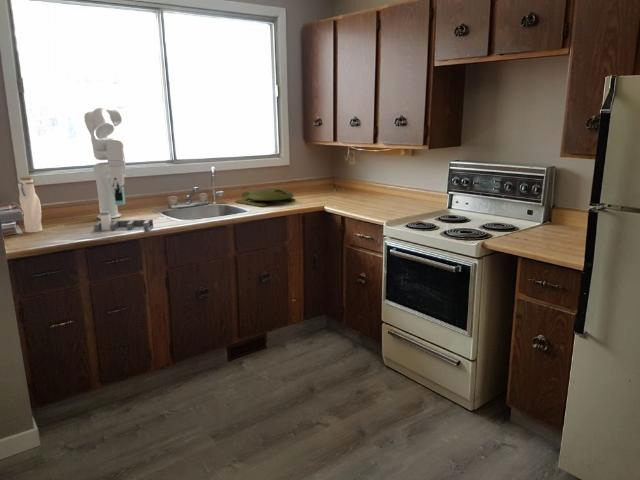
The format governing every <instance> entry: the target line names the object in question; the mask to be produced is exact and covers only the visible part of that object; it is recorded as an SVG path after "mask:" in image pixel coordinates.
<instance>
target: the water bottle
mask: <svg viewBox="0 0 640 480" xmlns="http://www.w3.org/2000/svg"><path fill="white" fill-rule="evenodd" d="M19 181H20V182H19V183H17V188H18V191H19V204H20V208H21V210H22V212H23V224H24V229H25V230H24V231H25V233H37V232H38V233H39V232H42V231H43V226H42V207H41V206H42V205H41V201H40V198H39V196H38V195H37V193H36V189H35V185H34V184H35V183H36V182H35V181H34V180H33V177H32V176H21V177H20V180H19Z"/></svg>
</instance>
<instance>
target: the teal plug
mask: <svg viewBox="0 0 640 480" xmlns="http://www.w3.org/2000/svg"><path fill="white" fill-rule="evenodd" d="M117 187H119V186H117ZM124 187H125V186H124V185H123V186H121V193H122V201H116V200H115V205H117V206H124V205H125V204H126V196H125V188H124ZM114 196H115V190H114Z"/></svg>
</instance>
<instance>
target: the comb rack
mask: <svg viewBox="0 0 640 480" xmlns="http://www.w3.org/2000/svg"><path fill="white" fill-rule="evenodd" d="M111 223H112V224H111V229H110V230H102V226H101V220H97V221H96V223H95V224H94V225H93V229H94V230H92V231H91V233H101V232H102V233H103V232H104V233H106V232H124V231H129V232H130V231H143V232H144V233H146V232H147V233H148V232H150V231H151V230H152V229H153V228H154V220H153V218H149V219H147V218H145V219H144V218H143V219H124V220H123V219H122V220H119V219H118V220H111Z"/></svg>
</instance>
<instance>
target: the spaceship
mask: <svg viewBox="0 0 640 480" xmlns="http://www.w3.org/2000/svg"><path fill="white" fill-rule="evenodd" d="M241 196H242V198H241V199H236V200H235V203H236V204H241V205H247V206H250V207H251V206H252V207H259V208H267V206H268V205H267V203H264V202H257V201H284V202H291V203H293V202H296V198H294V197H295V196H294V193H293V192H292V191H290V190H288V189H284V188H277V187H267V188H266V187H265V188H261V189H256V190H249V191H244V192H243V193H242V194H241Z"/></svg>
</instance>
